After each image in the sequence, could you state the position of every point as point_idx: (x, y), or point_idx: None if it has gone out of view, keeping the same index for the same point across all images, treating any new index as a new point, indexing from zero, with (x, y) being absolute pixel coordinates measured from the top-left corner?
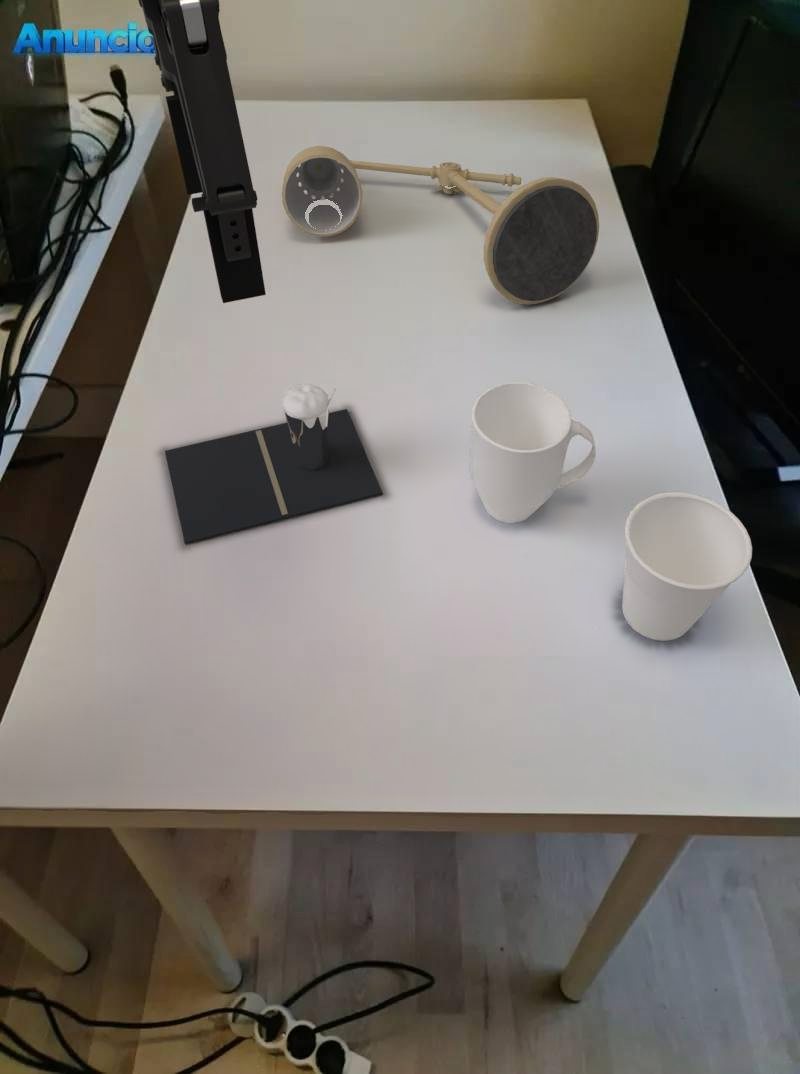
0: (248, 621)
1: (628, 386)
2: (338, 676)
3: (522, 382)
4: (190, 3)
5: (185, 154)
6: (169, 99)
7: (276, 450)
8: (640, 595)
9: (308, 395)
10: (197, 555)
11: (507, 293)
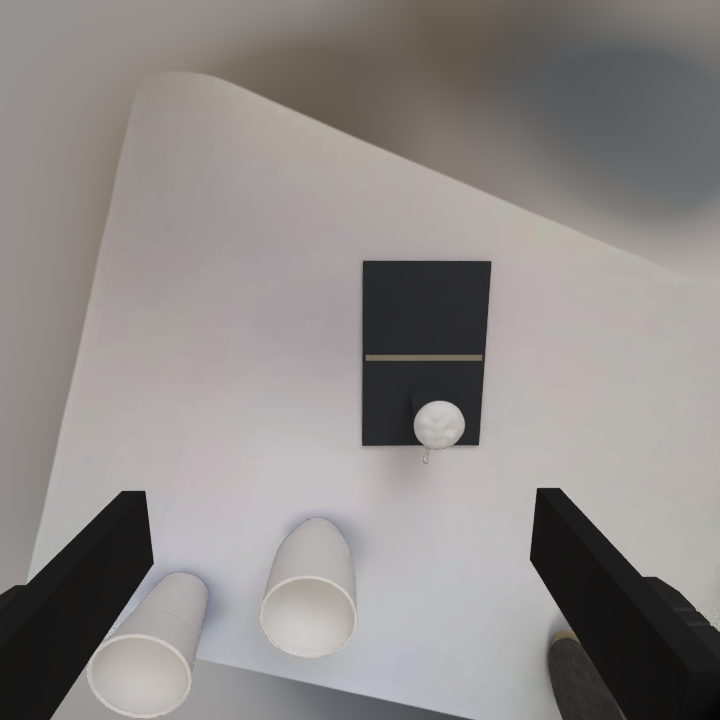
0: (261, 300)
1: (413, 671)
2: (188, 358)
3: (352, 635)
4: None
5: (582, 557)
6: (698, 679)
7: (448, 368)
8: (144, 606)
9: (437, 432)
10: (347, 269)
11: (564, 636)
